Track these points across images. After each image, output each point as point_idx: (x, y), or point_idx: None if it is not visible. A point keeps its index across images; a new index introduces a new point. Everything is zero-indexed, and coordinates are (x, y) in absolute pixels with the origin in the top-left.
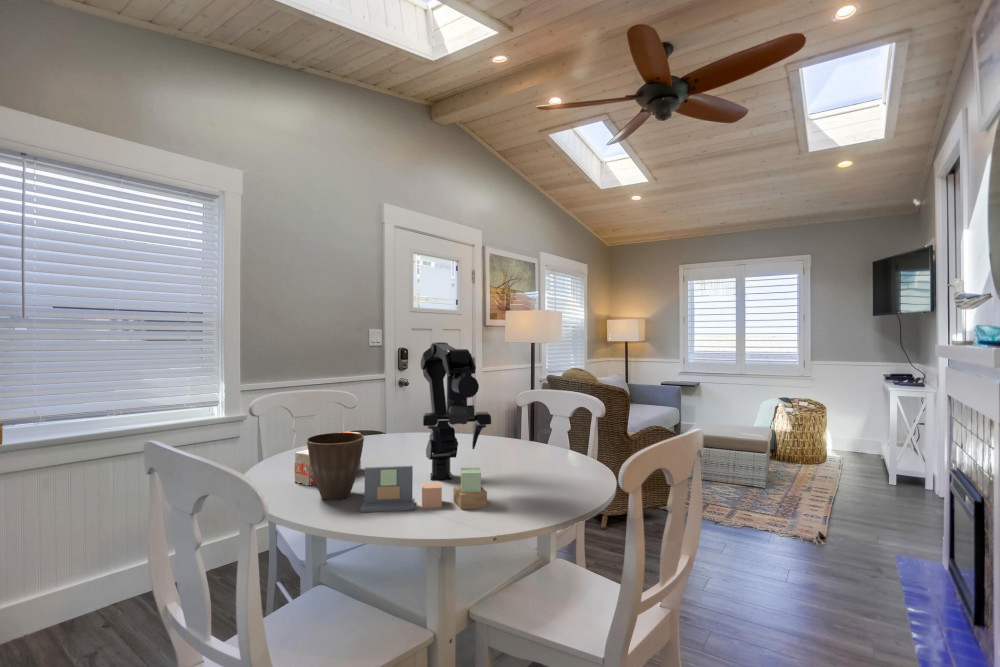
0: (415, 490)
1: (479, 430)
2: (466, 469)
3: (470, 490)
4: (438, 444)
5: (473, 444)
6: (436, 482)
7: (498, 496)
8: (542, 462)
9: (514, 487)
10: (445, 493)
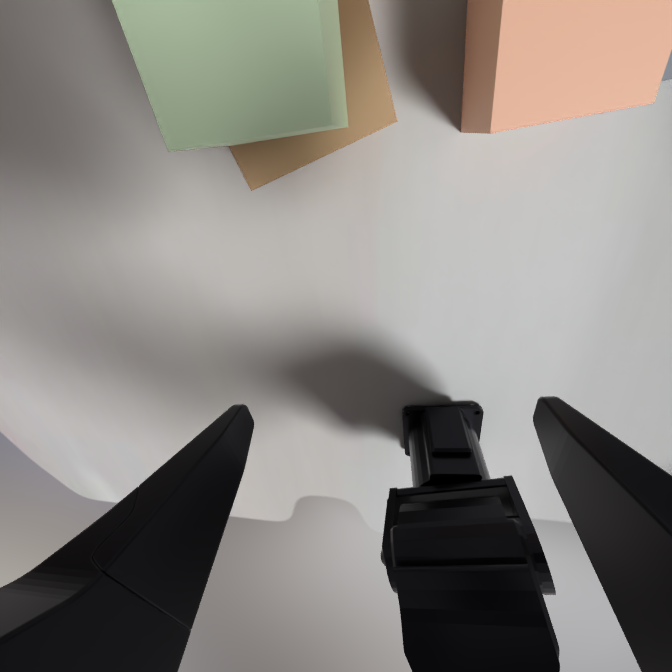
0: (569, 297)
1: (12, 591)
2: (267, 59)
3: None
4: (613, 439)
5: (219, 432)
6: (529, 120)
7: (194, 210)
8: None
9: (171, 320)
10: (431, 253)
